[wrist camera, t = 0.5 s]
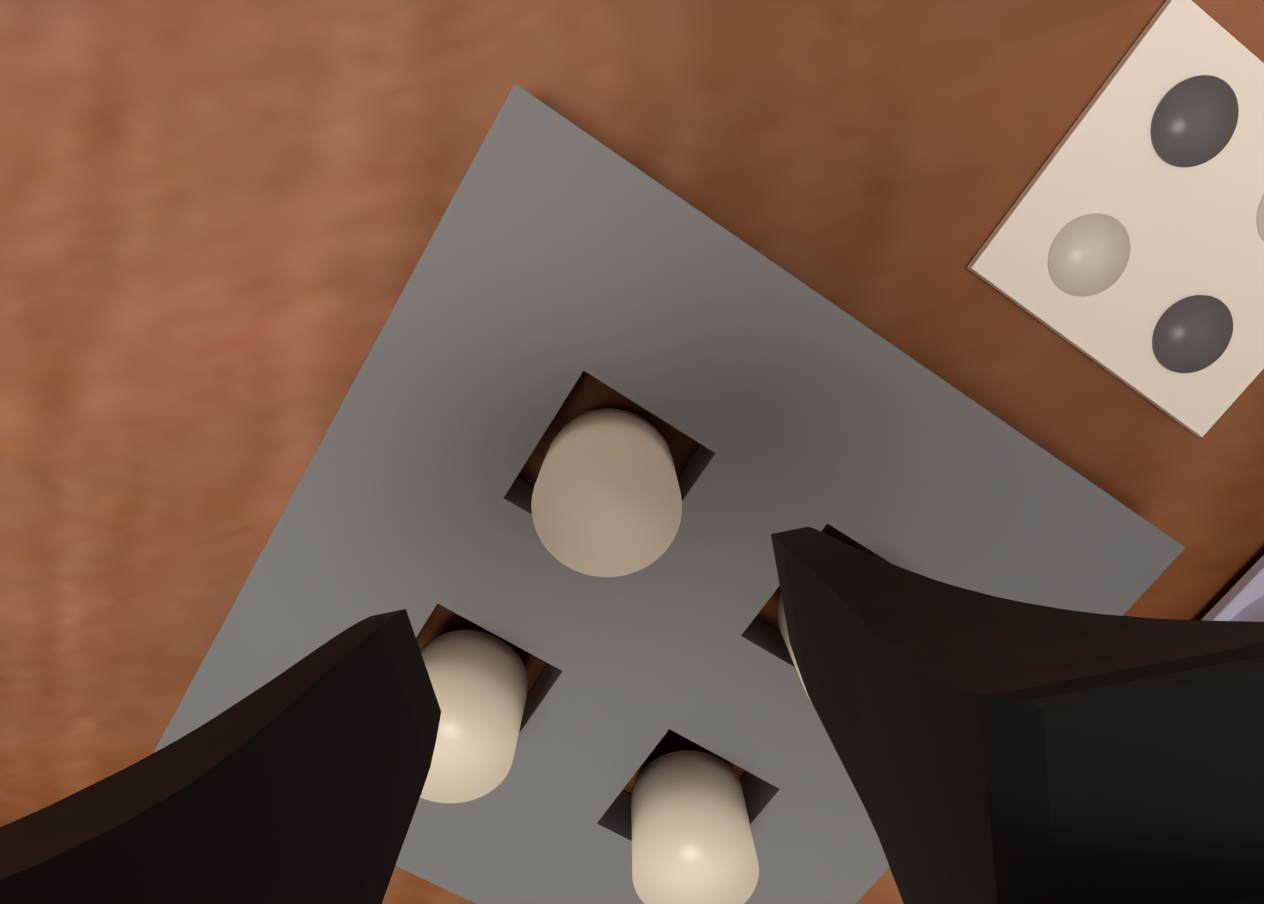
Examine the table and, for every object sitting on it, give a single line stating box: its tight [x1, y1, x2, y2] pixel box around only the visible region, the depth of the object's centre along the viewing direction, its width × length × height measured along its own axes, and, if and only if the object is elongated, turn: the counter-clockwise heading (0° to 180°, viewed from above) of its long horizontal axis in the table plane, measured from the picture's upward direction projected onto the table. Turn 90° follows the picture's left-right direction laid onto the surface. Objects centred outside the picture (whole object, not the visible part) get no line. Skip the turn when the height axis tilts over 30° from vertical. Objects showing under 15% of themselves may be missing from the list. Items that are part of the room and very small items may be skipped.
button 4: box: [420, 630, 528, 803], centre depth 20 cm, size 4×4×3 cm
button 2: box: [631, 750, 759, 904], centre depth 21 cm, size 4×4×3 cm
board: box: [154, 84, 1185, 904], centre depth 22 cm, size 22×22×2 cm
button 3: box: [531, 408, 682, 577], centre depth 18 cm, size 4×4×3 cm
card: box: [966, 0, 1264, 437], centre depth 19 cm, size 9×8×1 cm
